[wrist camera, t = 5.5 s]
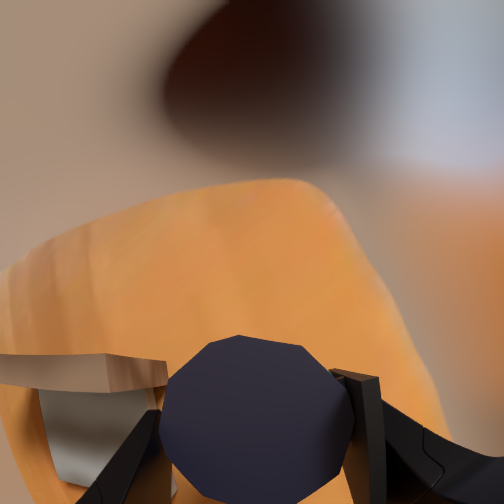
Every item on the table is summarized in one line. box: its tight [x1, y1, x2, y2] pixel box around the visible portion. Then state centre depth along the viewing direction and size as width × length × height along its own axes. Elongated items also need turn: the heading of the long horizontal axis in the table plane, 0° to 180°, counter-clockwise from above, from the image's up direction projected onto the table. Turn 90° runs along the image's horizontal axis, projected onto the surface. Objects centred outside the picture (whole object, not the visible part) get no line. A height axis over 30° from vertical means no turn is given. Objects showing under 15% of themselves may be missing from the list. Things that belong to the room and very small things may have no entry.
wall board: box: [0, 353, 177, 498], centre depth 13 cm, size 12×15×10 cm
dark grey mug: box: [158, 335, 386, 504], centre depth 9 cm, size 8×6×10 cm
